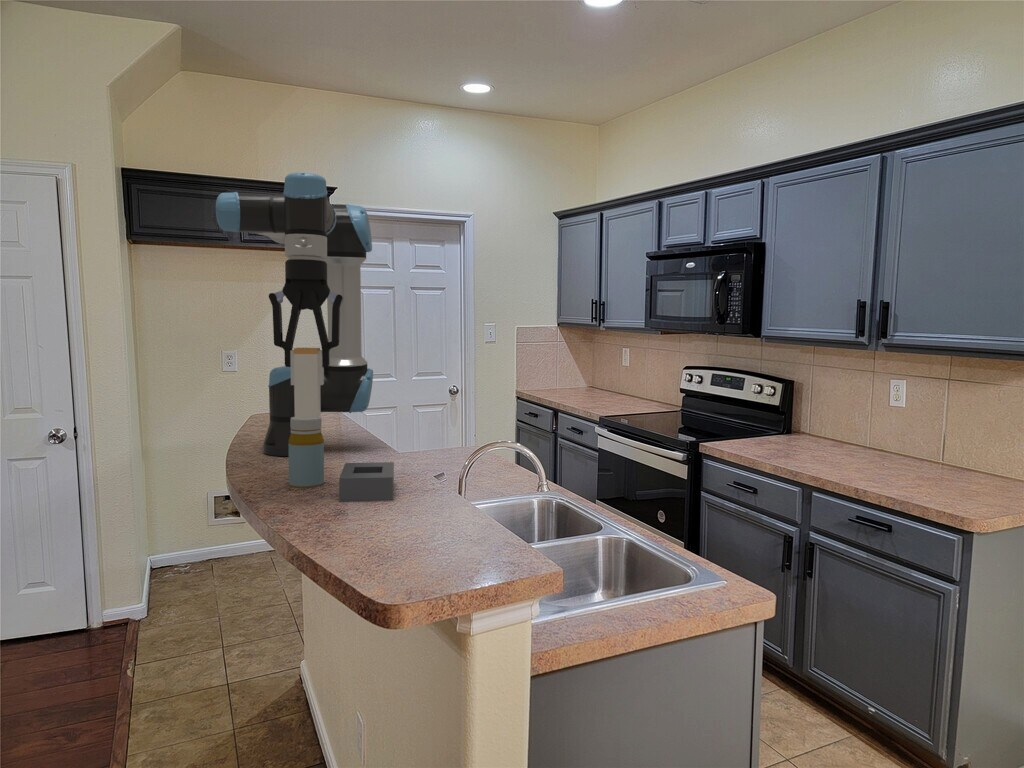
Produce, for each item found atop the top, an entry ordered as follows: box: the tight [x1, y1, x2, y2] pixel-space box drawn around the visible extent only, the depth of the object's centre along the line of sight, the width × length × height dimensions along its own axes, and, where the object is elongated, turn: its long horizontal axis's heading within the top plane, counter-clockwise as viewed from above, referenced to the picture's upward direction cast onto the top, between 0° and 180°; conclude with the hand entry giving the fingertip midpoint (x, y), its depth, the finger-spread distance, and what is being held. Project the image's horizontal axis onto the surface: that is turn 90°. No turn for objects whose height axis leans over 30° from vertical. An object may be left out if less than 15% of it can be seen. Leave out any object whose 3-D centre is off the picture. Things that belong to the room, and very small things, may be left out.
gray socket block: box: [338, 461, 395, 503], centre depth 135 cm, size 14×10×6 cm
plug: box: [293, 347, 322, 418], centre depth 127 cm, size 4×4×13 cm
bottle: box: [288, 415, 325, 489], centre depth 140 cm, size 7×7×15 cm
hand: (307, 384), depth 127 cm, fingers closed on plug, 4 cm apart
